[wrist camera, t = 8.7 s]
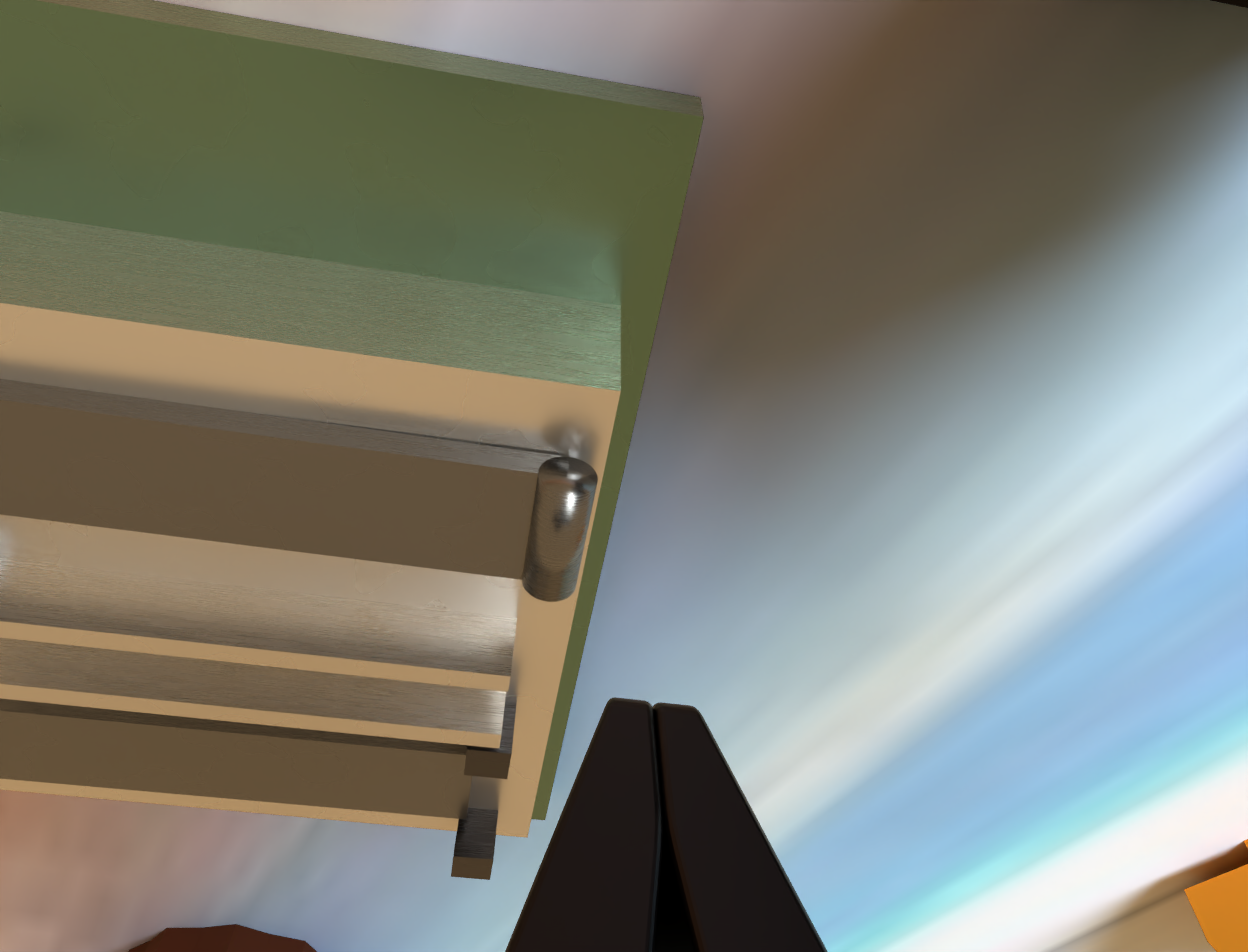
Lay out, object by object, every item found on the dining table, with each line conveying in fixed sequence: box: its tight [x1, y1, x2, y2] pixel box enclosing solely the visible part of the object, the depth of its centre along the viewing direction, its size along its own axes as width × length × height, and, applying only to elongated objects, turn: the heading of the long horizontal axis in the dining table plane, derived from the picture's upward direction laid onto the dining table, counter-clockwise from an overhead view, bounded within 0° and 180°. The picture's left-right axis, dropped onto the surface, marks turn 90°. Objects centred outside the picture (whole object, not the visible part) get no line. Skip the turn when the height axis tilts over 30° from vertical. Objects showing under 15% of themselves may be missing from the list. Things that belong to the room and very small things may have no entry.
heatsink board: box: [0, 0, 704, 880], centre depth 23 cm, size 16×23×6 cm
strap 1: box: [0, 379, 598, 602], centre depth 19 cm, size 12×3×1 cm, turn 80°
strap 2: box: [0, 698, 472, 819], centre depth 24 cm, size 13×3×1 cm, turn 80°
